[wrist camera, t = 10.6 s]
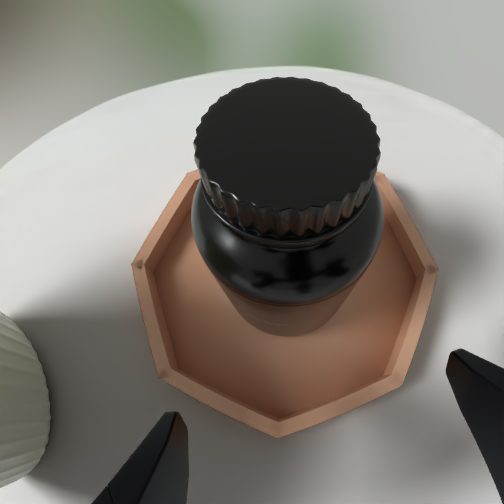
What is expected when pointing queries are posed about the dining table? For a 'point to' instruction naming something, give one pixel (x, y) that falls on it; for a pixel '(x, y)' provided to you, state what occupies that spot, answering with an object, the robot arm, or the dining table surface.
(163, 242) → the terracotta octagonal tray
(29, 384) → the canister
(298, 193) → the supplement bottle
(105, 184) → the dining table surface
